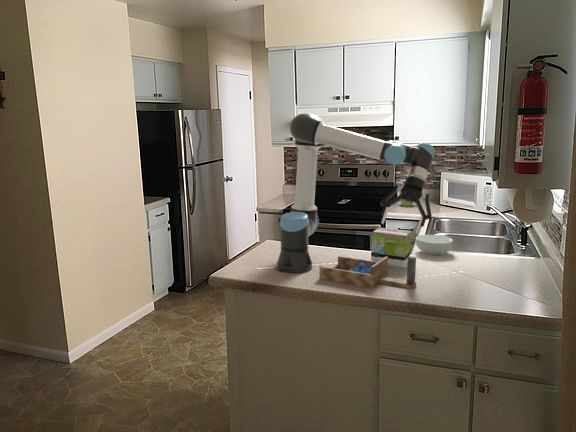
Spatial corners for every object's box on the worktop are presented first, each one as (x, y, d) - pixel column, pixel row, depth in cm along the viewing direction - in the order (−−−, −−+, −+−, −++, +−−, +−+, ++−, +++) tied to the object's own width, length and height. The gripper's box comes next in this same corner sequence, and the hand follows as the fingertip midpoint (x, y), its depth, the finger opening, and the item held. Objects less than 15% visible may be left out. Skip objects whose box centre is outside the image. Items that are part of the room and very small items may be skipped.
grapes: (380, 262, 189) (349, 264, 188) (380, 280, 190) (350, 281, 188) (372, 259, 201) (343, 261, 200) (372, 276, 201) (344, 277, 200)
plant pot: (401, 204, 363) (401, 189, 361) (417, 205, 357) (417, 190, 355) (396, 206, 353) (396, 191, 351) (412, 208, 347) (413, 192, 345)
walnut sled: (421, 280, 192) (422, 252, 189) (407, 294, 177) (408, 264, 174) (338, 267, 210) (339, 241, 207) (319, 278, 194) (319, 250, 192)
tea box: (370, 264, 214) (371, 231, 212) (377, 258, 223) (378, 226, 220) (404, 268, 208) (405, 235, 205) (410, 262, 216) (411, 230, 213)
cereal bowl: (442, 260, 220) (443, 244, 219) (408, 253, 231) (409, 239, 229) (457, 252, 233) (458, 237, 231) (424, 246, 243) (425, 232, 242)
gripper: (446, 192, 195) (430, 240, 190) (385, 175, 202) (369, 221, 197) (448, 184, 188) (432, 234, 183) (385, 167, 196) (368, 215, 190)
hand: (399, 228), depth 190 cm, fingers open, 13 cm apart
